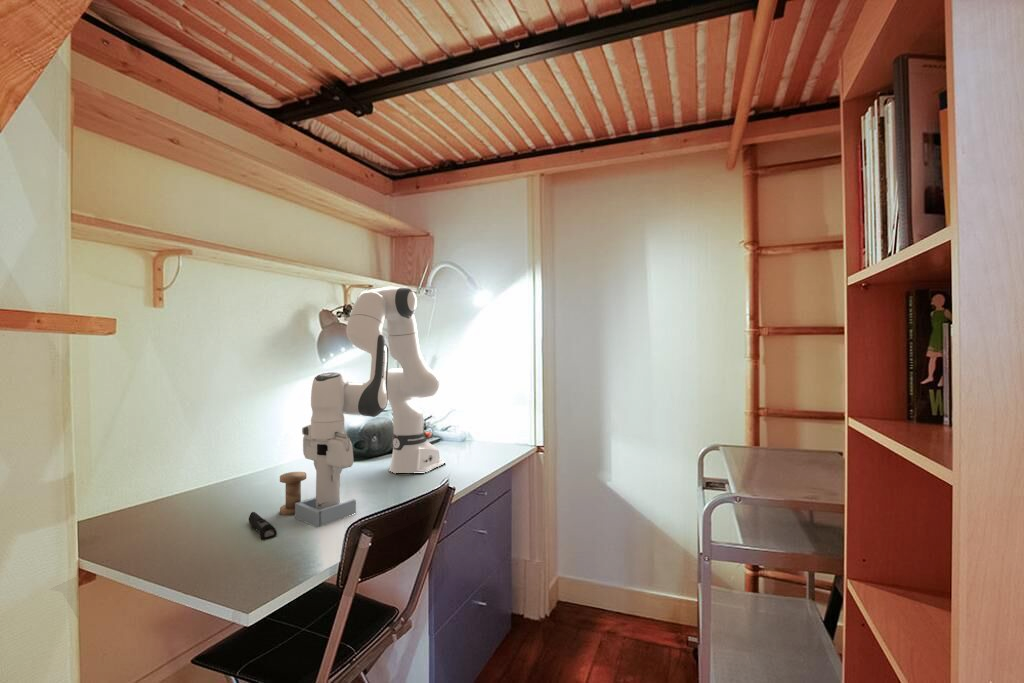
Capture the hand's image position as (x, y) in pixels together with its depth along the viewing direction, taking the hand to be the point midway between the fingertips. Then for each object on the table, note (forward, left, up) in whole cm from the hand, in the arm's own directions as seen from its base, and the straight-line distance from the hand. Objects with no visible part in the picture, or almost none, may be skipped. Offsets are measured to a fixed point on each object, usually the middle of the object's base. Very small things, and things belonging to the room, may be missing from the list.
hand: (327, 478), depth 127 cm
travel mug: (0, 0, -10) cm, 10 cm away
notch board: (0, 0, -10) cm, 10 cm away
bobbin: (+4, -11, -10) cm, 16 cm away
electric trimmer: (+16, -5, -11) cm, 20 cm away
